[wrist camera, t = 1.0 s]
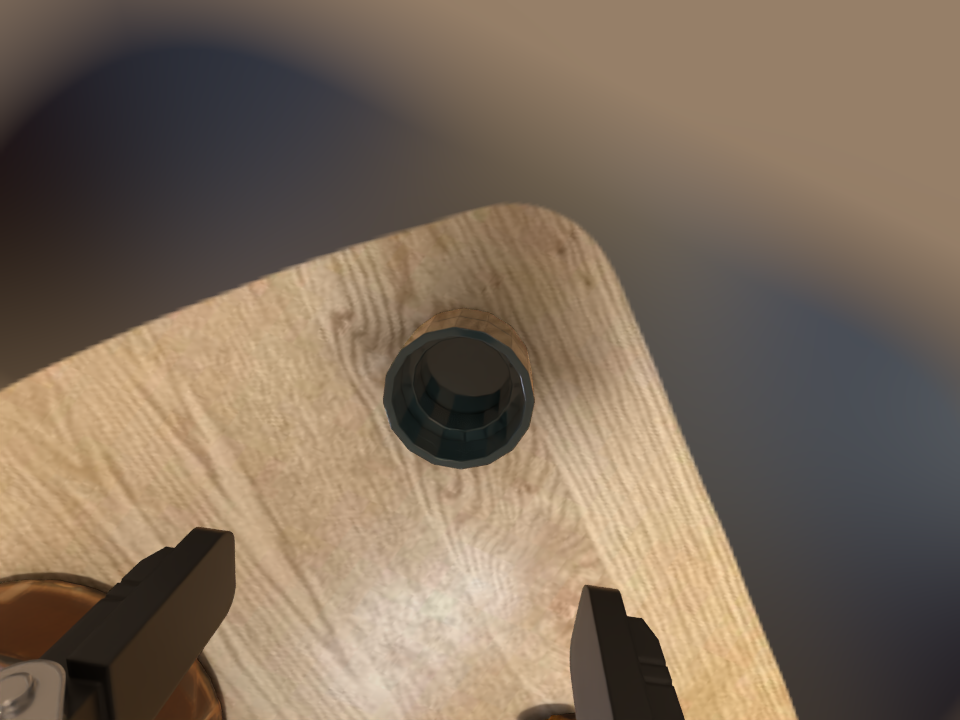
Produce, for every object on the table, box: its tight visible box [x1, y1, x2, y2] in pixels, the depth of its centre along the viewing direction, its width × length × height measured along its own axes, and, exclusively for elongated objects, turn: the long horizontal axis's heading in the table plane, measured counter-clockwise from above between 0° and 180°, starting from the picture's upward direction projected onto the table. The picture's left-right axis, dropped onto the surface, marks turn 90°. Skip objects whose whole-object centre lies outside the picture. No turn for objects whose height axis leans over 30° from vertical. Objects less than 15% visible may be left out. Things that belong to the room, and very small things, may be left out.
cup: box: [383, 308, 535, 469], centre depth 25 cm, size 7×7×4 cm
